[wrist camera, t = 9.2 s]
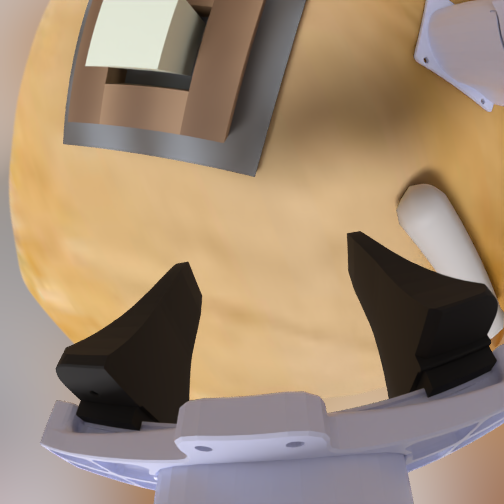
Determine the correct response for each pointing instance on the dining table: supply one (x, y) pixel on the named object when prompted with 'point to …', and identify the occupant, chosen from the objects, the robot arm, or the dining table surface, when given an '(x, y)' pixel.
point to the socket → (190, 90)
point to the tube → (443, 238)
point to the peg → (146, 36)
